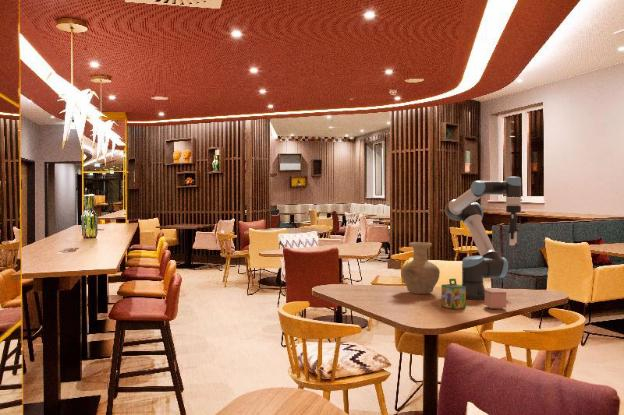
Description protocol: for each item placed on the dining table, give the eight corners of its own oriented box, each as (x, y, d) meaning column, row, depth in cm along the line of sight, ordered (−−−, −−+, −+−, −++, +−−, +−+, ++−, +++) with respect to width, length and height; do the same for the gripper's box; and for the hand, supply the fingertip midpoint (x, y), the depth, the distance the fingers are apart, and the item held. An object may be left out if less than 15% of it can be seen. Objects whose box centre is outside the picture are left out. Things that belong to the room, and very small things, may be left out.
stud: (487, 308, 272) (487, 294, 272) (488, 306, 279) (489, 292, 278) (501, 310, 269) (501, 295, 269) (503, 307, 276) (503, 293, 276)
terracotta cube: (499, 304, 278) (499, 289, 278) (506, 307, 270) (506, 292, 270) (484, 304, 278) (484, 289, 277) (491, 307, 270) (491, 292, 270)
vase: (397, 295, 309) (397, 244, 308) (404, 289, 330) (405, 241, 329) (436, 298, 301) (437, 245, 300) (441, 291, 322) (442, 242, 321)
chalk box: (453, 309, 270) (453, 281, 269) (440, 306, 278) (440, 278, 277) (466, 308, 274) (466, 279, 274) (453, 304, 282) (454, 277, 282)
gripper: (519, 205, 275) (519, 246, 276) (522, 205, 298) (521, 242, 298) (504, 205, 278) (503, 245, 279) (508, 204, 301) (507, 242, 301)
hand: (513, 244), depth 289 cm, fingers open, 13 cm apart
